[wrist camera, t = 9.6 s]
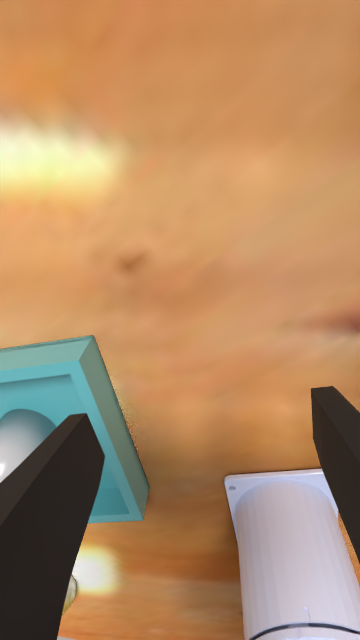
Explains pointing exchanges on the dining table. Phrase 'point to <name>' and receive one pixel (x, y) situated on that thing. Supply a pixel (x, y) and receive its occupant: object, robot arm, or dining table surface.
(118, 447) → the tray
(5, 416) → the white cylinder
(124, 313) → the dining table surface
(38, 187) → the dining table surface
